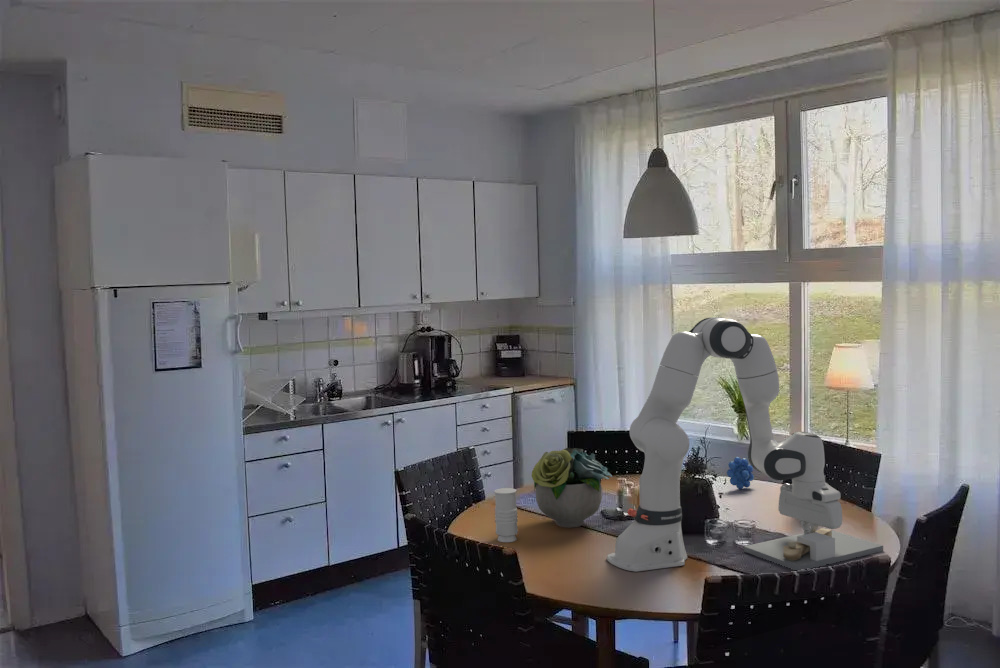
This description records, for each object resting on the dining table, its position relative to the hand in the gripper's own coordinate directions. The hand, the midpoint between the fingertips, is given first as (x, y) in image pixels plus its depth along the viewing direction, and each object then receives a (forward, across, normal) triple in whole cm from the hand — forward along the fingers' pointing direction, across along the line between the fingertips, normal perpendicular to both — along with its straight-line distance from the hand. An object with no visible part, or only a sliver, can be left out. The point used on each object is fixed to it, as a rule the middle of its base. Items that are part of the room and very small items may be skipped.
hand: (809, 536), depth 240 cm
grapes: (+3, -59, +31) cm, 66 cm away
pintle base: (+3, +4, -2) cm, 5 cm away
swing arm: (+1, +5, -6) cm, 8 cm away
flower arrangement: (+3, -57, -44) cm, 73 cm away
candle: (+2, -55, -68) cm, 88 cm away
